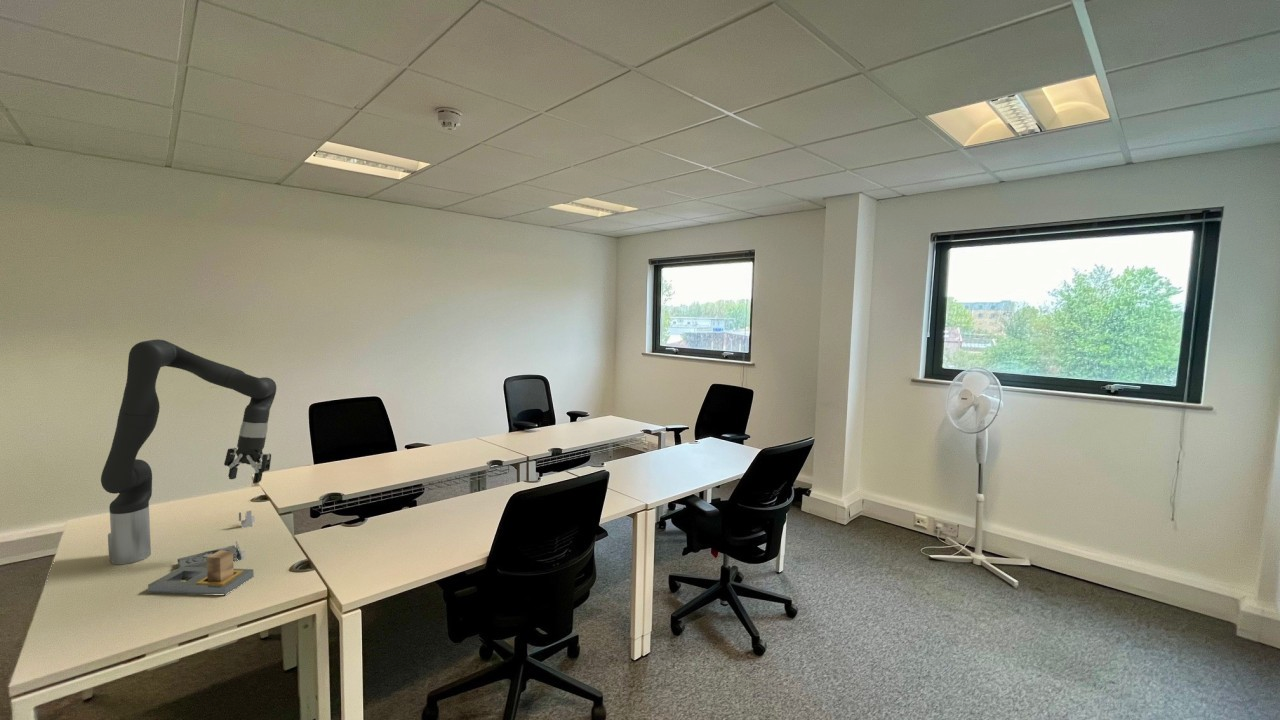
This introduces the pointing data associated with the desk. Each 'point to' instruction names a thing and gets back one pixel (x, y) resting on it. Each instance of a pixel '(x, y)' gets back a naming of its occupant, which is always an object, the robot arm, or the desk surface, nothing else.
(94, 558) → the desk surface
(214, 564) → the peg
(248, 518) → the small white bracket
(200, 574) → the square hole plate
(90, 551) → the desk surface
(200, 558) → the graphics card
